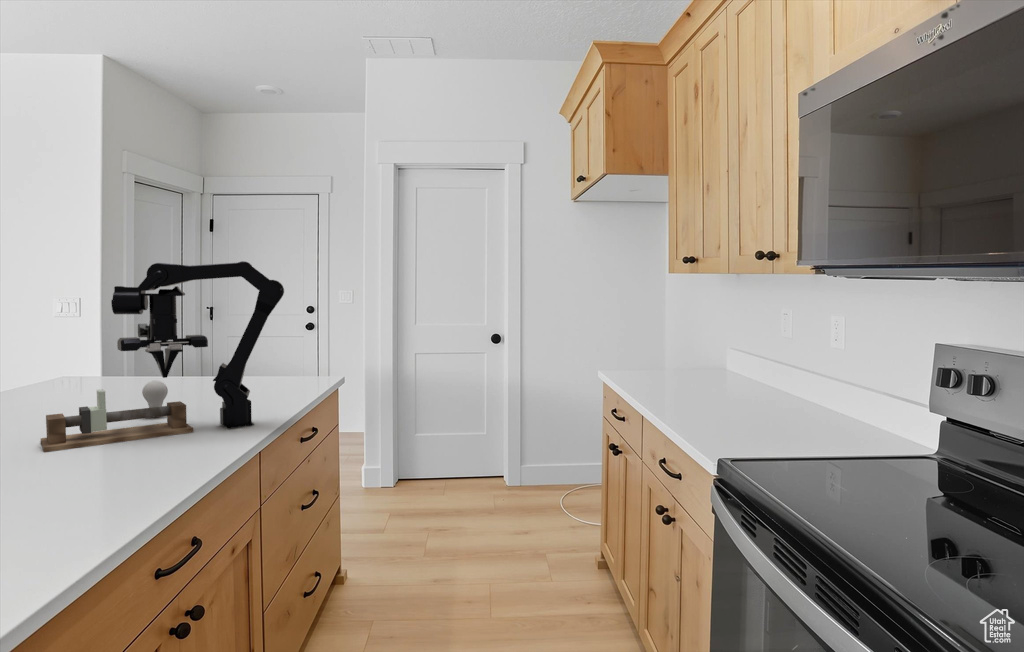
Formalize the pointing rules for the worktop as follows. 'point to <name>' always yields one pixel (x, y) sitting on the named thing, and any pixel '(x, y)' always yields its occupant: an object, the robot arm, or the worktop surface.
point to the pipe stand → (62, 441)
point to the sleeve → (99, 413)
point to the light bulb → (155, 393)
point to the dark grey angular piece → (85, 420)
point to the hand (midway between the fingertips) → (164, 377)
